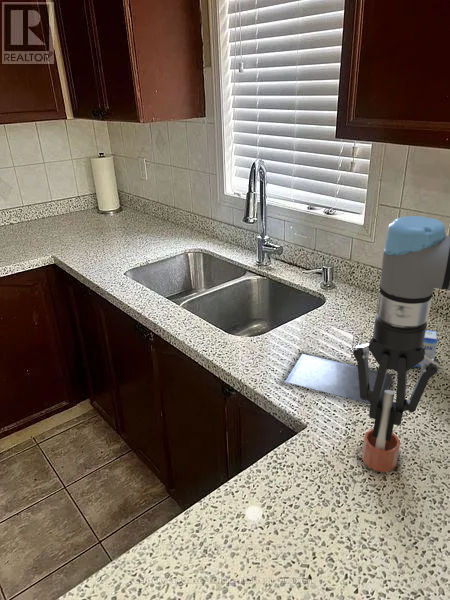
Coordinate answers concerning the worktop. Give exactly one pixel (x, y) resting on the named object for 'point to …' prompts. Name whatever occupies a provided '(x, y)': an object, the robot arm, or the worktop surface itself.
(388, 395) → the stylus
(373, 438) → the pen cup
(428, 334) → the medicine box
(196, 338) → the worktop surface
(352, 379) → the tablet
